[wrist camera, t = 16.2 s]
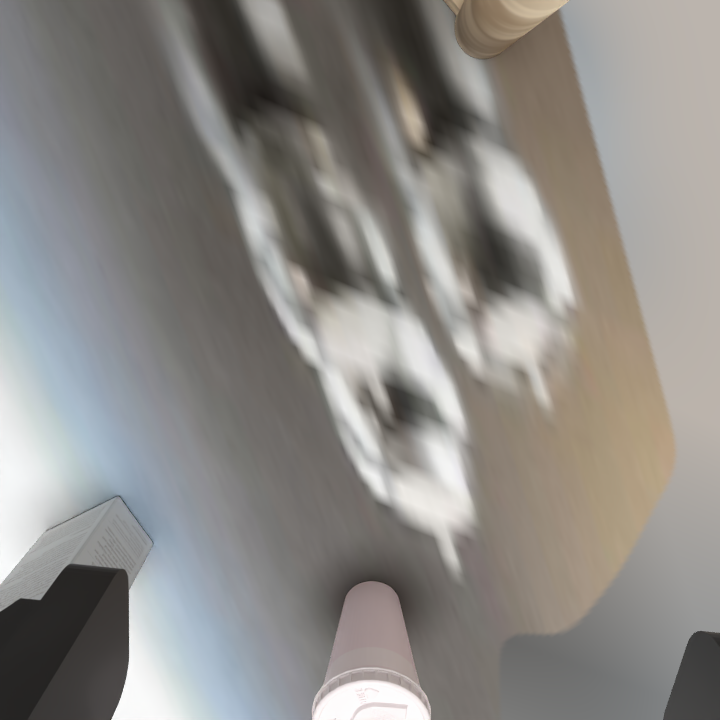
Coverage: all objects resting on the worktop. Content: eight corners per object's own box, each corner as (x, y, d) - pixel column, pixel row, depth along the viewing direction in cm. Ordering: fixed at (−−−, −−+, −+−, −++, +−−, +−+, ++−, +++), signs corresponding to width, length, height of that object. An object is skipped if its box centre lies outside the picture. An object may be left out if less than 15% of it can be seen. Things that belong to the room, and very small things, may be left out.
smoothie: (439, 610, 43) (468, 818, 29) (365, 658, 44) (361, 878, 31) (378, 546, 41) (381, 734, 28) (304, 598, 43) (272, 801, 29)
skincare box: (82, 579, 43) (-24, 736, 31) (44, 530, 41) (-81, 674, 30) (158, 544, 42) (77, 692, 30) (121, 492, 40) (22, 626, 29)
